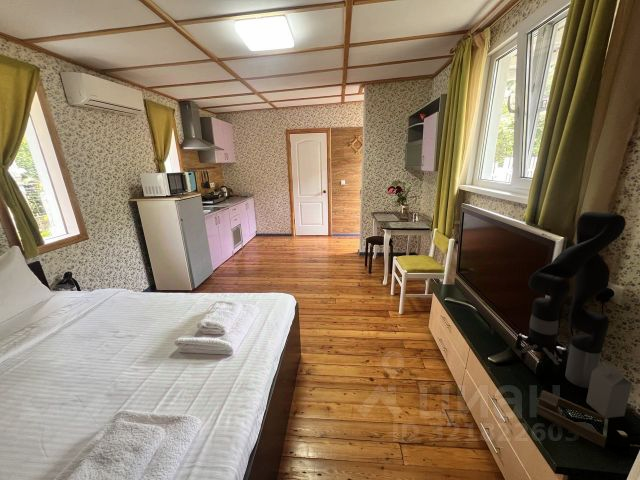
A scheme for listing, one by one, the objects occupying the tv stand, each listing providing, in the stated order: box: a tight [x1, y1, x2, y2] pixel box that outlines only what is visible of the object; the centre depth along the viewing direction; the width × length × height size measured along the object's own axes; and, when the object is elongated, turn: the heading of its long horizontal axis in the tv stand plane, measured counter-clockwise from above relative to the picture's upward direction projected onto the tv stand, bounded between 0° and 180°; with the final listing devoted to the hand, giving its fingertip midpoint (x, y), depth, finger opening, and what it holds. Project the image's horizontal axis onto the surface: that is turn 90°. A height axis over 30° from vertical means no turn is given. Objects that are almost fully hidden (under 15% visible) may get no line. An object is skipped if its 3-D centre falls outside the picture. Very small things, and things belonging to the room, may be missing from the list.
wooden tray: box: [535, 389, 609, 448], centre depth 97 cm, size 10×18×4 cm, turn 41°
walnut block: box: [537, 390, 559, 413], centre depth 101 cm, size 5×5×4 cm
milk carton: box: [585, 360, 633, 419], centre depth 97 cm, size 7×7×19 cm
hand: (538, 365), depth 96 cm, fingers open, 8 cm apart
